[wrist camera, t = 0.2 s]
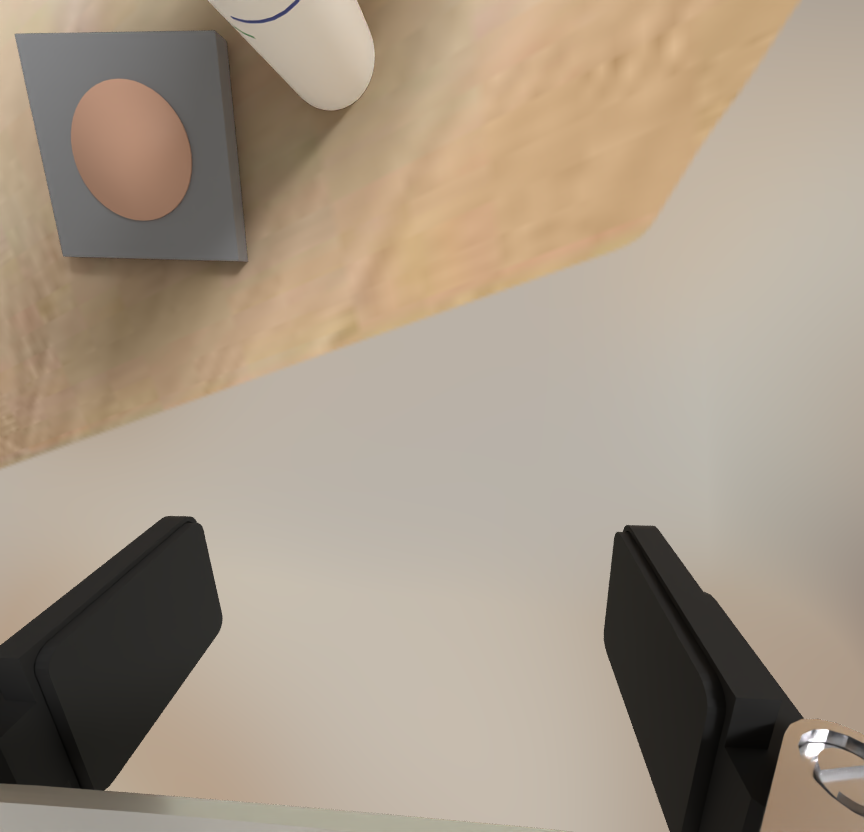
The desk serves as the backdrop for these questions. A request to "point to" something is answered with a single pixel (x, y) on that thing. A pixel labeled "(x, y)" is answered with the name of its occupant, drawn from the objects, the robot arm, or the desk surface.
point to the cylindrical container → (309, 45)
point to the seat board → (137, 143)
